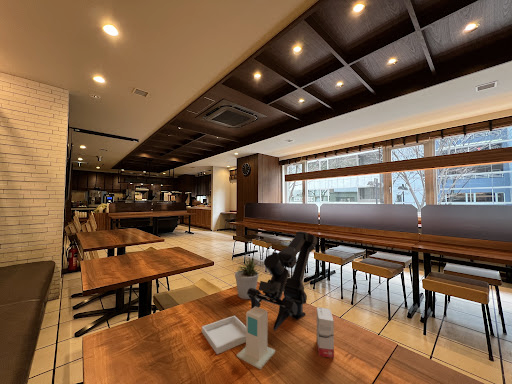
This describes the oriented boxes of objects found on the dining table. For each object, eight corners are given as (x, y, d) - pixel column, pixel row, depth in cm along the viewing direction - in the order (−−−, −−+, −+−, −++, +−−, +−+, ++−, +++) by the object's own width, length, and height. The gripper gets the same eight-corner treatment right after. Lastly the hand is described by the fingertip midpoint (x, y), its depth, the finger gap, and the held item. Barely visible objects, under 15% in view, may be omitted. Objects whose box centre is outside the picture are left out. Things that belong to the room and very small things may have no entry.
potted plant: (260, 301, 105) (261, 261, 106) (233, 301, 106) (233, 260, 106) (260, 291, 118) (261, 254, 119) (236, 290, 118) (236, 254, 119)
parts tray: (234, 321, 88) (234, 315, 88) (253, 340, 76) (253, 333, 76) (201, 333, 80) (201, 326, 80) (216, 355, 68) (217, 347, 69)
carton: (254, 345, 72) (255, 306, 73) (267, 351, 69) (267, 310, 70) (245, 354, 68) (246, 312, 68) (258, 360, 65) (258, 317, 66)
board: (253, 342, 75) (253, 339, 75) (275, 353, 70) (275, 350, 70) (236, 358, 68) (236, 354, 68) (260, 371, 62) (260, 367, 63)
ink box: (334, 359, 68) (334, 321, 68) (318, 356, 69) (318, 319, 69) (330, 341, 76) (330, 307, 77) (316, 339, 77) (316, 306, 77)
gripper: (249, 266, 82) (230, 307, 73) (294, 276, 71) (278, 326, 62) (260, 280, 88) (244, 320, 79) (303, 291, 78) (290, 339, 68)
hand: (262, 325), depth 72 cm, fingers open, 9 cm apart
